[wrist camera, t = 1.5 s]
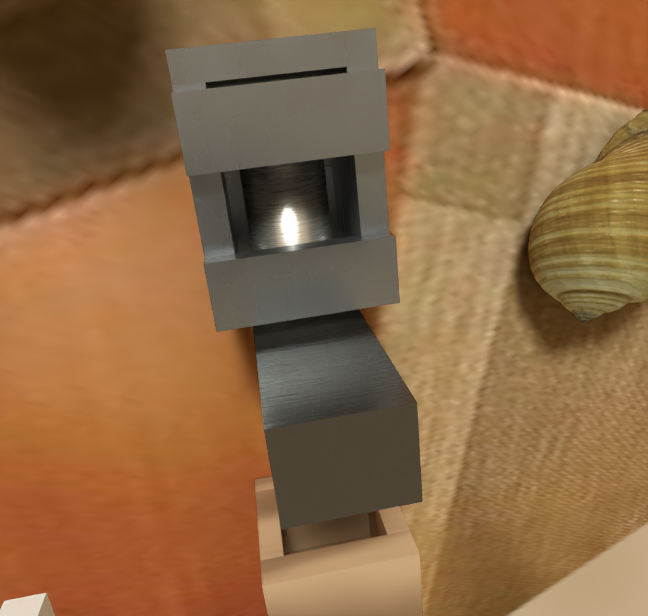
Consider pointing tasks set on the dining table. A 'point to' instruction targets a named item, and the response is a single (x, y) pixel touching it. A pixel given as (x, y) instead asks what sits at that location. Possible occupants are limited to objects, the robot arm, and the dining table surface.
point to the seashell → (597, 230)
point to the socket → (338, 563)
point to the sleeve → (281, 148)
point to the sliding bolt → (326, 378)
